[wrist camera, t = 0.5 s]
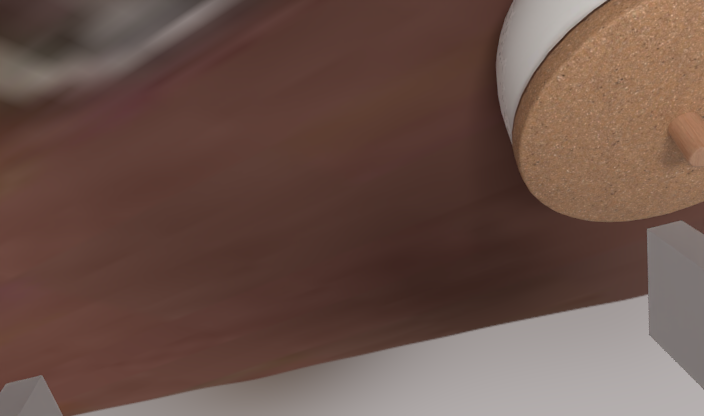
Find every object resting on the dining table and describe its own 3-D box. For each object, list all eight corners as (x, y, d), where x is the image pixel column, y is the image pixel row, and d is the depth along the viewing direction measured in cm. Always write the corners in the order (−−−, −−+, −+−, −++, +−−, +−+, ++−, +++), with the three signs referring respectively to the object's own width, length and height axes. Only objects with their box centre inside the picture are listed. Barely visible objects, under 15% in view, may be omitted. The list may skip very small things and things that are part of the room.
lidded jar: (486, 126, 30) (546, 286, 24) (441, -78, 22) (515, 83, 16) (713, 54, 28) (842, 208, 22) (756, -199, 20) (979, -69, 14)
